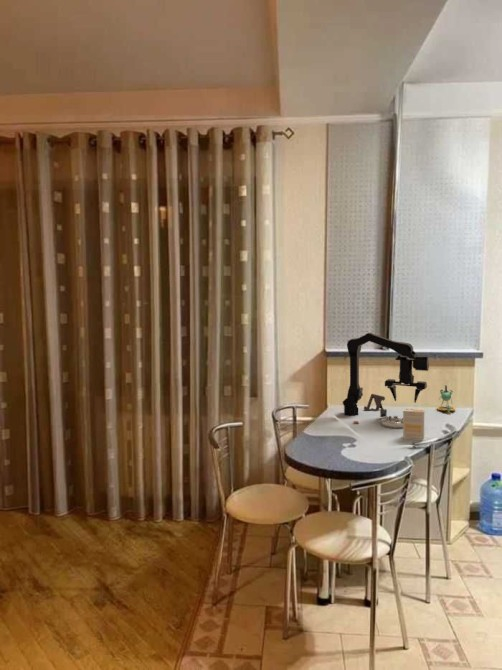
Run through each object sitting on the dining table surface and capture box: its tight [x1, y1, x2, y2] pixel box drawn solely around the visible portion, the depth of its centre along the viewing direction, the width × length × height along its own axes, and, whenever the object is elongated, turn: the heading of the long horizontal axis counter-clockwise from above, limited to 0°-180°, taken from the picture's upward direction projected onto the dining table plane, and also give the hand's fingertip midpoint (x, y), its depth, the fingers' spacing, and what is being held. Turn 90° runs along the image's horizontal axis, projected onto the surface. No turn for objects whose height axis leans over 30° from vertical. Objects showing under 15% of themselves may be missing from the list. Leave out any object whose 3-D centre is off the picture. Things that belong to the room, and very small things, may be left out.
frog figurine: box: [436, 384, 456, 415], centre depth 269 cm, size 10×18×15 cm, turn 154°
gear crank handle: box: [379, 408, 403, 430], centre depth 240 cm, size 20×12×4 cm, turn 8°
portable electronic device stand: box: [363, 393, 386, 412], centre depth 269 cm, size 9×8×8 cm
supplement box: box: [402, 408, 425, 441], centre depth 214 cm, size 8×5×13 cm, turn 65°
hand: (405, 401), depth 244 cm, fingers open, 9 cm apart
